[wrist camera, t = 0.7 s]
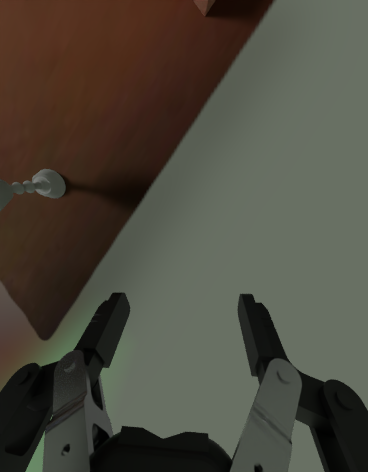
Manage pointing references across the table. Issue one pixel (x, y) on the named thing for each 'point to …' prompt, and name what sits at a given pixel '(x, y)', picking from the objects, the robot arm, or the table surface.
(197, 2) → the house
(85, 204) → the table surface
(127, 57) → the table surface
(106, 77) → the table surface
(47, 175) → the chalice
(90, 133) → the table surface
